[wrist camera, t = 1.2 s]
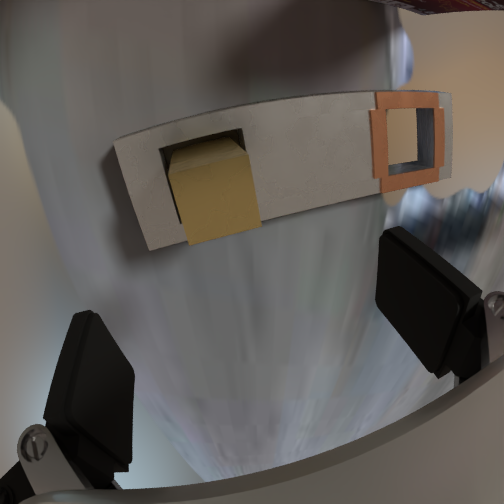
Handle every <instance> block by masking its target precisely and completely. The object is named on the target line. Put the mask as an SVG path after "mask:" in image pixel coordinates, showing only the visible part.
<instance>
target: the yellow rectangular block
mask: <svg viewBox="0 0 504 504" xmlns="http://www.w3.org/2000/svg"><path fill="white" fill-rule="evenodd" d="M168 176H169V180H170V183H171V187H172V190H173V194H174V197H175V201H176V204H177V207H178V211H179V214H180V217H181V221H182V224H183V227H184V230H185V234H186V237H187V240H188V243H189V246H190V245H193V244H197V243H201V242H204V241H208V240H212V239H216V238H219V237H223V236H227V235H231V234H235V233H238V232H242V231H246V230H250V229H254V228H258V227H262V225H261V219H260V213H259V208H258V203H257V197H256V192H255V186H254V181H253V175H252V170H251V165H250V159H249V154H247V153H246V152H245V151H244V150H243V149H242V148H241V147H240V146H239V145H237V144H236V143H235V142H234V141H233V140H232V139H231V138H229V137H228V136H227V137H223V138H218V139H214V140H210V141H206V142H202V143H198V144H194V145H190V146H186V147H182V148H179V149H175V150H173V154H172V158H171V163H170V168H169V173H168Z"/></svg>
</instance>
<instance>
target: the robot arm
mask: <svg viewBox="0 0 504 504" xmlns="http://www.w3.org/2000/svg"><path fill="white" fill-rule="evenodd" d="M481 294H482V290H481V289H480V288H479V287H477V286H476V285H475V284H474V283H473V282H472V281H470V280H469V279H468V278H467V277H466V276H464V275H463V274H462V273H461V272H460V271H458V270H457V269H456V268H455V267H453V266H452V265H451V264H450V263H449V262H447V261H446V260H445V259H443V258H442V257H441V256H440V255H438V254H437V253H436V252H435V251H433V250H432V249H431V248H429V247H428V246H427V245H425V244H424V243H423V242H421V241H420V240H419V239H417V238H416V237H415V236H413V235H412V234H411V233H409V232H408V231H406V230H405V229H404V228H402V227H400V226H397V227H393V228H390V229H387V230H384V231H383V234H382V236H380V238H379V254H378V271H377V284H376V296H375V301H376V305H377V307H378V308H379V310H380V311H381V312H382V313H383V314H384V316H385V317H386V318H387V319H388V321H389V322H390V323H391V324H392V326H393V327H394V328H395V329H396V331H397V332H398V333H399V334H400V336H401V337H402V338H403V339H404V341H405V342H406V343H407V344H408V346H409V347H410V348H411V350H412V351H413V352H414V353H415V355H416V356H417V357H418V359H419V360H420V361H421V363H422V364H423V365H424V366H425V368H426V369H427V370H428V371H429V372H430V373H434V374H435V376H436V377H437V378H438V379H439V378H441V377H442V376H444V375H446V374H447V373H449V372H450V371H452V372H453V373H454V374H455V375H454V388H453V389H452V390H450V391H449V392H447V393H446V394H444V395H442V396H441V397H439V398H437V399H436V400H434V401H432V402H431V403H429V404H427V405H426V406H424V407H422V408H420V409H418V410H417V411H415V412H413V413H411V414H409V415H407V416H405V417H404V418H402V419H400V420H398V421H396V422H394V423H392V424H390V425H388V426H386V427H383V428H381V429H379V430H377V431H375V432H373V433H370V434H368V435H366V436H364V437H361V438H359V439H357V440H354V441H352V442H350V443H347V444H345V445H342V446H339V447H337V448H334V449H332V450H329V451H326V452H323V453H321V454H318V455H315V456H312V457H309V458H306V459H303V460H300V461H296V462H293V463H290V464H286V465H283V466H279V467H276V468H272V469H268V470H264V471H260V472H256V473H252V474H247V475H243V476H238V477H233V478H228V479H223V480H217V481H211V482H205V483H198V484H190V485H182V486H173V487H161V488H145V489H122V488H121V487H120V485H118V483H117V482H116V481H115V480H114V472H129V464H130V463H131V462H132V430H133V400H134V382H135V374H134V370H133V368H132V366H131V364H130V363H129V361H128V360H127V359H126V357H125V356H124V354H123V353H122V351H121V350H120V348H119V346H118V345H117V343H116V342H115V340H114V339H113V337H112V335H111V334H110V332H109V331H108V329H107V327H106V326H105V324H104V322H103V321H102V319H101V317H100V316H99V314H97V313H94V312H93V311H91V310H87V311H83V312H79V313H75V314H74V316H73V318H72V321H71V323H70V326H69V329H68V332H67V335H66V338H65V341H64V344H63V347H62V350H61V353H60V356H59V359H58V362H57V366H56V369H55V373H54V376H53V380H52V383H51V387H50V391H49V395H48V399H47V403H46V407H45V411H44V415H43V419H45V420H46V426H43V425H40V424H35V425H31V426H30V427H28V428H26V430H25V431H24V432H23V433H22V434H21V436H20V438H19V441H18V444H17V453H18V457H19V461H18V462H17V463H16V464H15V465H14V466H13V467H12V468H11V469H10V470H9V471H8V472H7V473H6V474H5V475H4V476H3V477H2V478H1V479H0V504H504V292H501V291H495V292H491V293H489V294H488V295H487V296H486V297H485V299H484V300H483V299H481V298H480V297H481Z"/></svg>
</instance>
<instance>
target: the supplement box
mask: <svg viewBox="0 0 504 504" xmlns="http://www.w3.org/2000/svg"><path fill="white" fill-rule="evenodd" d="M370 1H375V2H379V3H384V4H388V5H392V6H396V7H399V8H403V9H406V10H409V11H412V12H415V13H418V14H421V15H430V14H438V13H449V12H461V11H480V10H504V0H370Z"/></svg>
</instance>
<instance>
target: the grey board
mask: <svg viewBox="0 0 504 504" xmlns="http://www.w3.org/2000/svg"><path fill="white" fill-rule="evenodd" d="M398 108H416V115H417V141H418V143H417V146H418V161H412V162H406V163H400V164H394V165H388V141H387V123H386V110H385V109H398ZM452 127H453V123H452V97H451V93H445V92H439V91H424V90H366V91H346V92H332V93H321V94H311V95H302V96H294V97H286V98H279V99H272V100H266V101H260V102H254V103H248V104H243V105H238V106H233V107H228V108H223V109H218V110H214V111H209V112H205V113H201V114H197V115H193V116H189V117H185V118H181V119H177V120H174V121H170V122H166V123H163V124H159V125H156V126H153V127H149V128H146V129H143V130H140V131H137V132H134V133H130V134H127V135H125V136H122V137H119V138H118V139H116V140H115V141H113V144H114V147H115V151H116V154H117V157H118V161H119V164H120V167H121V171H122V174H123V177H124V180H125V183H126V186H127V189H128V192H129V195H130V198H131V201H132V204H133V207H134V210H135V213H136V216H137V219H138V221H139V224H140V227H141V230H142V232H143V235H144V238H145V240H146V243H147V246H148V248H149V251H151V250H154V249H158V248H162V247H165V246H169V245H172V244H176V243H180V242H183V241H187V237H186V234H185V230H184V227H183V224H182V221H181V217H180V214H179V211H178V207H177V204H176V201H175V197H174V194H173V190H172V187H171V183H170V180H169V176H168V173H169V172H168V168H167V164H166V161H165V157H164V153H163V149H162V147H165V146H169V145H172V144H176V143H179V142H183V141H187V140H191V139H194V138H198V137H202V136H207V135H211V134H215V133H219V132H224V131H228V130H233V129H237V131H238V136H239V141H240V146H241V148H242V149H243V150H244V151H245V152H246V153H247V154H249V159H250V165H251V170H252V175H253V181H254V186H255V192H256V197H257V203H258V208H259V213H260V219H261V221H264V220H267V219H271V218H275V217H279V216H284V215H288V214H292V213H296V212H300V211H304V210H308V209H312V208H316V207H321V206H325V205H329V204H333V203H338V202H342V201H346V200H350V199H355V198H359V197H364V196H368V195H372V194H377V193H386V192H390V191H395V190H400V189H404V188H409V187H413V186H418V185H423V184H427V183H432V182H437V181H439V180H442V179H447V178H451V171H452V141H453V140H452V139H453V137H452V135H453V133H452V132H453V128H452Z"/></svg>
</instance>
